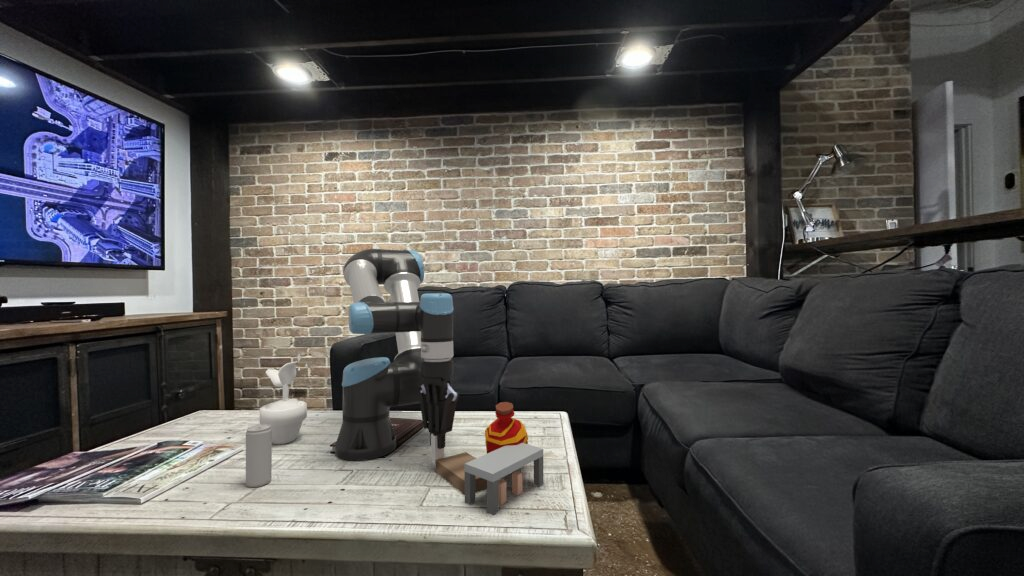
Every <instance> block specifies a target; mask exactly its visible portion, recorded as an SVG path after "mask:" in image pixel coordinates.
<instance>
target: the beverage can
mask: <svg viewBox="0 0 1024 576" xmlns="http://www.w3.org/2000/svg"><path fill="white" fill-rule="evenodd" d="M270 427H271V425H269V424H260V423H259V424H255V425H251V426H249V427H247V428H246V432H245V485H246V486H247V487H249V488H259V487H262V486H265V485H267V484H268V483H270V481H271V480H272V474H273V473H272V467H273V466H272V463H273V462H272V460H273V459H272V458H273V457H272V453H273V451H272V450H273V449H272V446H273V443H272V429H271V428H270Z"/></svg>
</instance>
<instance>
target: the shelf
mask: <svg viewBox="0 0 1024 576" xmlns="http://www.w3.org/2000/svg"><path fill="white" fill-rule="evenodd" d="M475 458H476V457H475ZM531 463H533V485H534V486H537V487H541V486H542V485H544V481H545V480H544V448H542V447H538V446H535V445H531V444H525V443H520V444H518V445H507V446H503V447H501V448H499V449H497V450H494V451H492V452H490V453H488V454H487V453H485V454H483V455H481V456H478V457H477V458H476V459H474V460H472V461H469V462H467V463H465V495H464V503H465V504H467V505H472V504H474V503H476V500H477V499H476V494H477V493H476V480H475V476H478V477H481V478H483V479H486V480H487V489H486V505H487V506H486V507H487V508H486V513H487V514H490V515H492V516H495V515H496V514H498V513H499V511H500V510H499V508H500V506H502V505H503V504H505V503H506V502H507V480H504V479H502V478H505V477H506V476H508V475H510V474H511V494H514V495H516V496H519V495H521V494H522V493H523V471H522V467H523V468H524V467H525V466H527V465H529V464H531ZM498 479H499V480H498Z"/></svg>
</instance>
